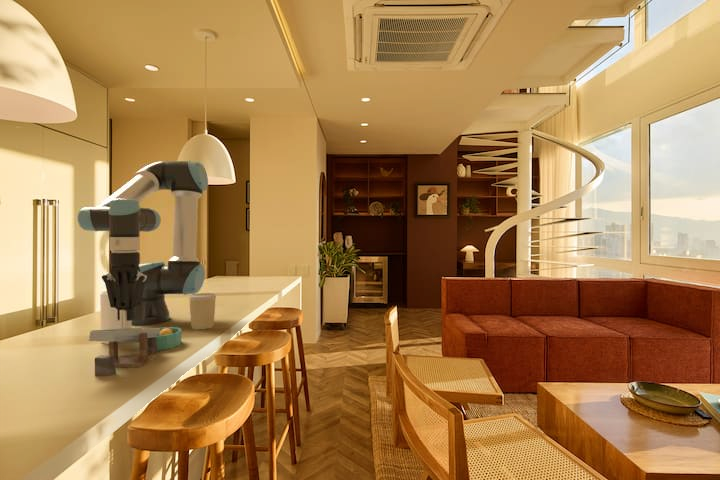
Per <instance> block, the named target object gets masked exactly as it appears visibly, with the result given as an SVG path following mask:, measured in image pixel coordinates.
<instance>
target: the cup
mask: <svg viewBox="0 0 720 480" xmlns="http://www.w3.org/2000/svg"><path fill="white" fill-rule="evenodd" d="M99 294H100V296H99V297H100V299H99V300H100V302H99V305H100V309H99V310H100V330H106V329H120V320H118V316H117V309H116V308H114V307H113V308H112V307H111V306H110V302H109V298H108V294H107V290H105V291H101V292H100V293H99ZM100 343H101V344H107V345H109V342H105V341H100ZM119 343H121V342H118V344H119Z"/></svg>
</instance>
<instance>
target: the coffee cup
mask: <svg viewBox="0 0 720 480" xmlns="http://www.w3.org/2000/svg"><path fill="white" fill-rule="evenodd" d="M216 298H217V296H216V294H215V293H210V292H202V293H201V292H200V293H195V294H189V298H188V300H189V311H190V312H189V313H190V324H191V325H190V326H191V329H192V330H207V328H208V329H211V328H213V327H214V326H215V313H216V312H215V311H216Z"/></svg>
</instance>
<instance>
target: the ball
mask: <svg viewBox="0 0 720 480" xmlns="http://www.w3.org/2000/svg"><path fill="white" fill-rule="evenodd" d="M169 334H173V332H172V330H171V329H168V328H165V329H163V330H161V332H160V334H159V336H162V335H169Z"/></svg>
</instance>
